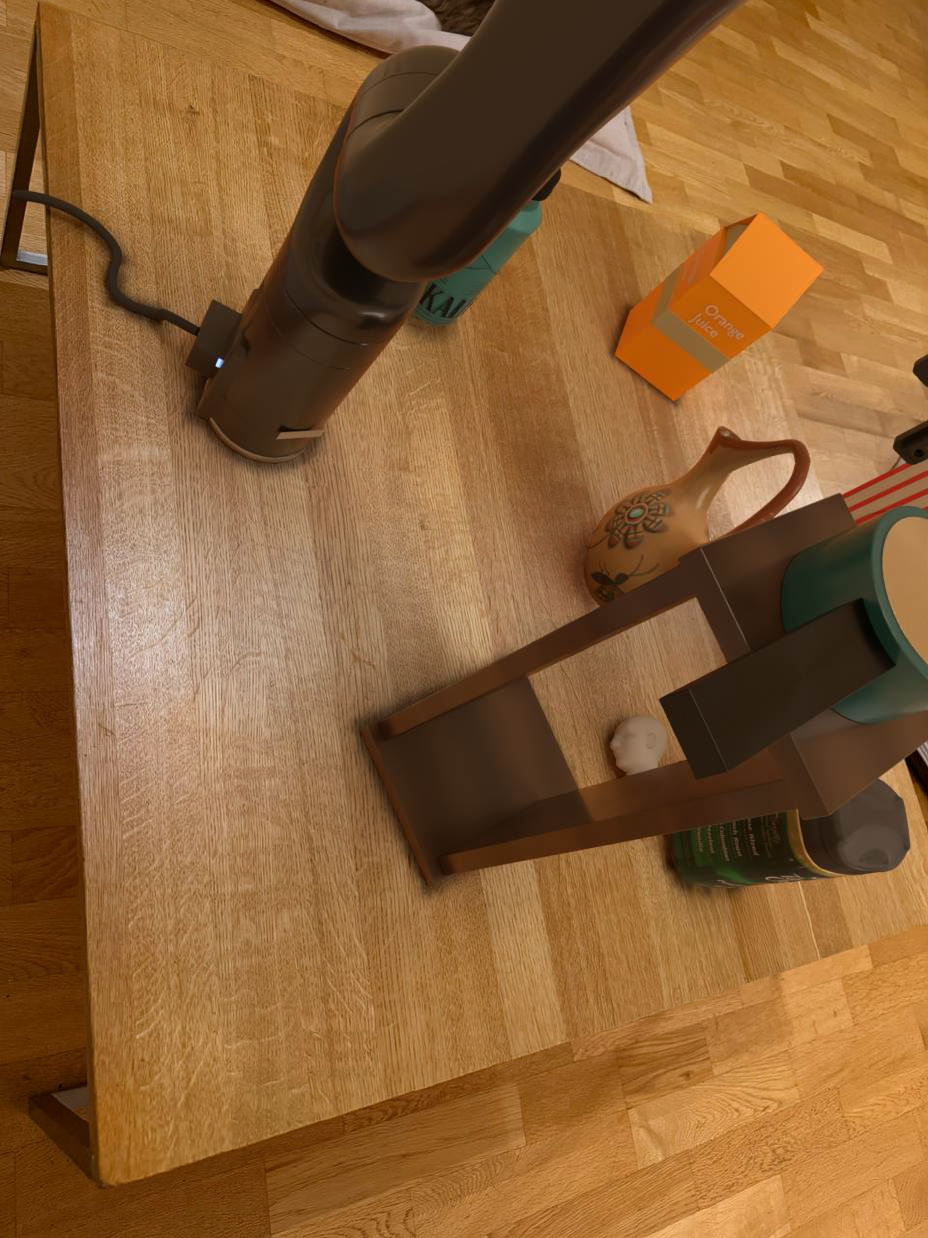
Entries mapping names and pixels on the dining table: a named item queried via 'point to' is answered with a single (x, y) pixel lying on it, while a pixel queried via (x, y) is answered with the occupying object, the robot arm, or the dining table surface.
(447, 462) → the dining table surface
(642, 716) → the smooth white sculpture
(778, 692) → the milk pan
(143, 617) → the dining table surface
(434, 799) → the shelf stand
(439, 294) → the beverage bottle
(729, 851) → the coffee jar
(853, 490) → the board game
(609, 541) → the ceramic vessel
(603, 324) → the dining table surface
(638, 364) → the orange juice
